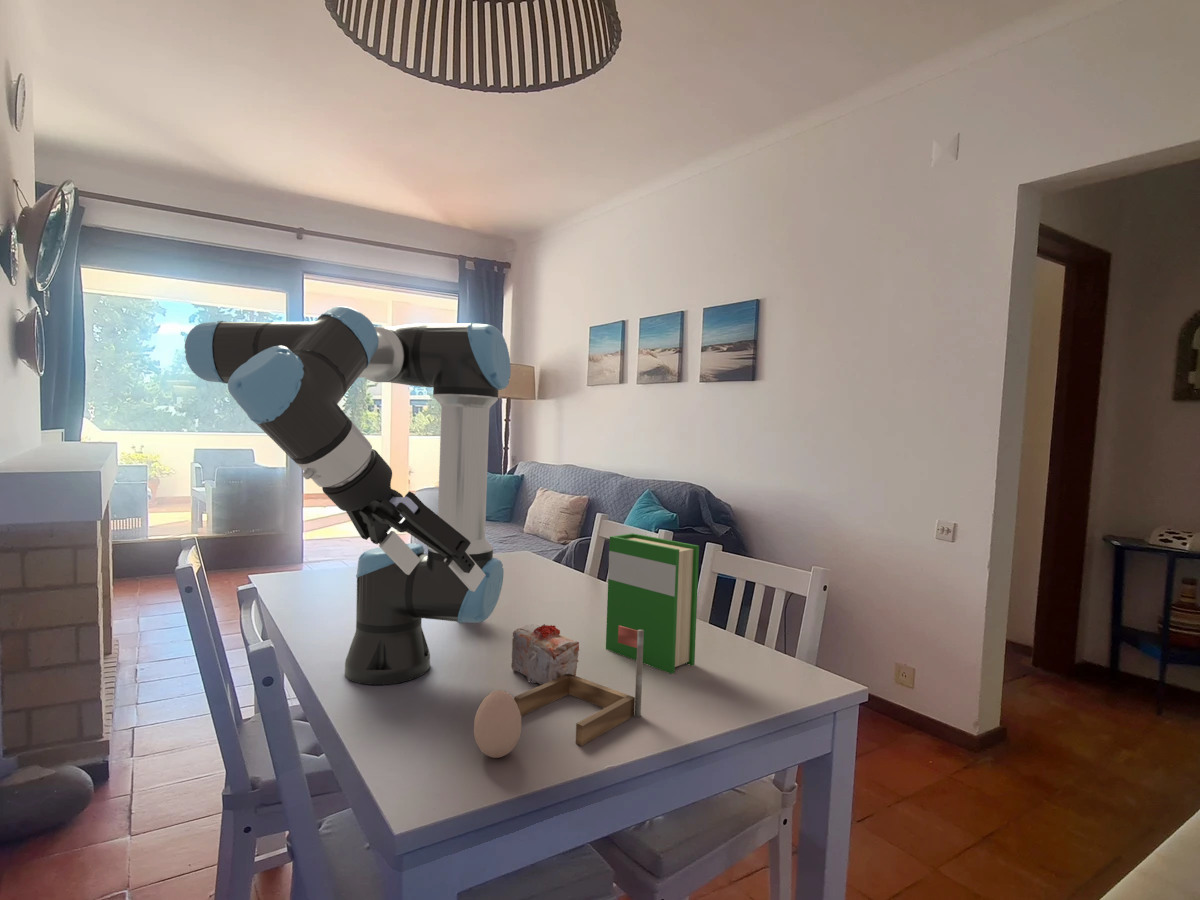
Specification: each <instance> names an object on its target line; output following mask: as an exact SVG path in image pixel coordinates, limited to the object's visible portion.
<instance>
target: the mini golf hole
mask: <svg viewBox="0 0 1200 900" xmlns="http://www.w3.org/2000/svg"><path fill="white" fill-rule="evenodd" d="M643 640H644V630H634V629H630V628H627V627H623V626H618V643H621V644H625V645H628V646H631V647H635V648H637V661H636V665H635V666H636V668H635V671H636V672H635V690H634V691H635V695H634V696H632V695H629V694H626V693H623V692H621V691H619V690H615V689H613V688H611V687H610V688H609V687H607V686H604V685H602V684H599V683H596V682H593V681H591V680H588V679H586V678H582V677H580V676H578V675H576V676H575V675H572V674H569V673H568V674H566V675H564V676H561V677H559V678H557V679H554V680H552V681H550V682H547V683H545V684H543V685H541V684H539V686H536V687H533V688H532V689H528V690H526V691H524V692H522V693H520V694H517V695H515V696H514V697H513V699H514V700H515V702H516V703H517V706H518V708H519V711H520V714H521V717H523V716H525V715H527V714H529V712H530V713H532V712H534V711H535V710H538V709H540V708H542V707H544V706H546V705H548V704H550V703H552V702H555V701H557V700H559V699H562V698H563V697H566V696H568V695H570V696H573V697H575V698H577V699H580V700H583V701H585V702H587V703H590V704H593V705H595V706H599V707H601V708H602V709H600V710H598V711H597V712H595V713H593V714H591V715H589V716H587V717H586V718H584V719H582V720H580V721H578V722H577V723H576V726H575V744H576V745H578V746H581V747H583V746H585V745H586V744H588V743H589V742H591V741H593V740H595V739H596V738H598V737H601V735H604V734H605V733H607V732H608V731H610V730H612V729H613V728H615V727H617V726H619V725H620V724H622V723H623V722H626V721H627V720H629V719H631V718H633V717H636V718H639V717H641V714H642V689H643V664H644V663H643ZM533 710H534V711H533ZM531 711H532V712H531Z"/></svg>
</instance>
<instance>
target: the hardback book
mask: <svg viewBox="0 0 1200 900" xmlns="http://www.w3.org/2000/svg"><path fill="white" fill-rule="evenodd" d="M608 543H609V549H608V574H607V577H608V578H607V599H606V600H607V602H606V603H607V605H606V606H607V607H606V609H607V610H606V630H605V631H606V635H605V650H606V651H607V650H608V651H610V652H613V653H615V654H617V653H618V655H620V654H621V655H620V656H623V655H624V656H623V657H625V656H626V658H628V657H629V659H631V658H632V659H631V660H633V659H635V660H634V661H636V660H637V648H635V647H631V646H628V645H625V644H621V643H618V626H623V627H627V628H630V629H634V630H644V640H643V664H644V663H645V664H644V665H646V664H648V665H647V666H649V665H650V666H649V667H652V666H653V668H654V667H655V668H654V669H657V668H658V669H657V670H660V669H661V670H660V671H662V670H663V671H662V672H665V671H666V672H665V673H667V672H669V673H668V674H670V673H673V674H675V673H674V672H676V671H675V669H676V667H678V666H681V665H685V663H687V664H686V665H688V664H690V665H689V666H691V665H692V666H694V665H695V664H696V663H695V660H696V658H695V657H696V656H695V655H696V638H697V635H696V633H697V614H698V613H697V609H698V585H699V583H698V582H699V560H700V559H699V558H700V545H697V544H691V543H685V542H681V541H675V540H671V539H664V538H659V537H654V536H651V535H650V536H649V535H643V534H638V533H634V532H632V533H627V534H626V533H624V534H619V535H611V536H609V542H608Z"/></svg>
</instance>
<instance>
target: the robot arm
mask: <svg viewBox="0 0 1200 900" xmlns="http://www.w3.org/2000/svg"><path fill="white" fill-rule="evenodd" d="M507 345H508V344H507V343H506V339H505V337H504V336H503V334H502V332H501V330H500V329H498V328H497V327H496V326H495V325H492V324H487V323H486V324H485V323H476V322H465V323H464V322H462V323H461V322H459V323H456V322H455V323H451V322H450V323H449V322H448V323H424V322H423V323H422V322H421V323H411V324H410V323H409V324H402V325H395V326H393V325H392V326H375V325H374V324H373V323H372V321H371V320H370V319H369V318H368V317H367V316H366V315H365V314H363V313H362V312H361V311H359V310H358V309H354V308H352V307H350V306H349V307H348V306H343V305H340V306H339V305H338V306H334V307H331V308H329V309H328V310H327V311H325V312H324V313H321V315H319V316H318V317H317V320H315V321H271V322H270V321H269V322H266V321H263V322H262V321H258V322H257V321H226V320H224V321H223V320H218V321H211V322H201V323H198V324H197V325H196V326H194V327H193V328H192V329H190V331H189V332H188V334H187V336H186V338H185V341H184V353H185V356H184V357H185V359H186V363H187V366H188V367H189V369H190V370H191V371H192V373H193V374H195V375H196V377H198V378H200V379H202V380H204V381H207V382H213V383H222V384H227V390H228V392H229V394H230V395H231V397H232V398H233V399H234V400H235V402H236V403H237V404H238V405H239V407H240V408H241V409H242V410H243V411H244V412H245V414H246V415H247V416H248V418H249V419H250V421H252V422H253V423H254V424H255V425H257V426H258V427H259V428H260V429H261V430H262V432H264V433H265V434H266V435H267V436H268V437H269V438H270V439H271V440H272V441H273V442H274V443H276V445H277V446H278V447H279V448H280V449H281V450H283V452H284V453H286V455H287V456H288V457H289V458H290V459H291V460H292V461H294V463H295V464H296V465H298V467H299V468H301V470H302V471H303V472H302V474H301V475H302V477H303V479H305V480H310V479H311V480H312V481H313V482H314V483H315V484H316V485H317V486H318V487H321V489H322V491H323V493H324V495H326V496H327V497H328V498H329V500H330V501H332V503H334V504H335V505H336V506H337V507H338V509H340V510H341V511H344V512H346V514H347V516H348V517H349V519H350V520H351V523H352V524H353V526H354V528H355V529H356V531H357V533H358V535H359V536H360V537H361V538H362V539H363V540H369V539H370V542H372V544H375V545H378V547H375V548H371V549H369V550H366V551H364V552H363V553H361V554H360V556H359V558H358V561H357V568H356V570H357V571H356V575H355V577H356V615H355V617H356V618H355V619H356V620H355V621H356V623H355V633H354V635H353V638H352V641H351V644H350V646H349V649H348V653H347V655H346V658H345V661H344V676H345V677H346V678H347V679H348V680H349V681H352V682H354V681H355V682H354V683H358V682H360V683H359V684H362V683H364V684H363V685H371V684H375V686H376V684H379V685H378V686H381V685H380V684H382V686H383V685H393V684H400V683H403V682H407V681H411V680H413V679H417V678H418V677H421V676H422V675H424V674H425V673H427V671H429V669H430V667H431V653H430V649H429V647H428V643H427V640H426V637H425V634H424V630H423V627H422V619H428V620H437V621H446V622H447V621H448V622H457V623H458V624H464V623H469V624H470V623H471V624H472V623H474V624H475V623H476V624H477V623H478V624H479V623H483V622H484V621H486V620H487V619H488V618H489V617H490V616H491V615H492V614H493V613H494V610H495V608H496V606H497V604H498V601H499V598H500V595H501V591H502V587H503V584H504V568H503V567H504V566H503V565H504V564H503V562H502V561H501V560H500V559H498V558H496V557H494V546H493V545H492V544H491V543H490V542H489V541H488V540H487V538H486V522H487V521H486V520H487V519H486V518H487V516H486V515H487V493H488V491H487V489H488V488H487V487H488V463H489V462H488V461H489V435H490V434H489V433H490V432H489V430H490V409H491V407H493V405H494V404H495V403H497V401H499V391H500V390H501V391H502V390H504V389H506V388H508V385H509V383H510V378H511V371H512V370H511V368H512V366H511V358H510V357H511V356H510V352H509V347H508V346H507ZM358 378H360V379H361V378H365V379H366V380H368V381H370V382H374V383H392V384H399V385H405V386H410V387H411V386H412V387H413V386H414V387H418V388H419V387H421V388H424V387H425V388H432V389H433V390H432V391H433V392H432V397H433V398H434V399H435V400H436V402H438V404H440V408H441V409H440V412H441V413H440V436H439V437H440V438H439V439H440V440H439V468H438V469H439V470H438V471H439V472H438V476H439V477H438V499H437V501H438V502H437V503H438V504H437V513H435V512H434V511H433V510H432V509H431V508H430V507H428V506H427V505H426V504H424V503H423V502H422V500H420V498H419V497H418V496H417V495H416V494H415V493H414V492H411V491H408V492H407V493H406V494H405V495H404V496H403V494H402V493H400V492H399V491H398V490H395V489H393V488H392V486H391V482H392V477H393V469H392V468H391V467H390V465H389V464H388V463H387V462H386V460H385V459H383V457H382V456H381V455H380V454H379V452H378V451H377V450H375V449H373V445H372V444H371V442H370V441H369V440H368V439H367V437H365V435H364V434H363V433H362V431H361V430H360V429H359V428H358V427H357V426H356V425H355V423H354V422H353V421H352V420H351V419H350V418H349V417H348V415H346V413H345V412H344V411H343V409H342V408H341V407H340V405H339V403H340V401H341V400H342V399H343V398H344V396H345V395H346V393H347V392H348V391H349V389H350V388H351V387H352V386H353V384H355V382H356V380H358ZM403 518H404V520H403V521H402V519H403ZM401 521H402V522H401ZM391 529H394V530H391ZM390 530H391V531H390ZM395 530H396V531H397V532H398V533H407V534H409V535H411V536H412V537H413V538H415V539H417V540H418V541H420V542H421V543H422V544H421V543H415V542H414V543H410V542H409V543H405V541H404V540H403V539H402V538H401V537H400V536H399V535H398V533H396V531H395ZM389 531H390V532H389ZM423 544H424V545H426V546H427V553H424V552H425V549H424V545H423Z"/></svg>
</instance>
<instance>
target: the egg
mask: <svg viewBox="0 0 1200 900" xmlns="http://www.w3.org/2000/svg"><path fill="white" fill-rule="evenodd" d="M473 723H474V724H473V735H474V740H475V742H476V744H477V746H478V748H479V750H481V752H482V753H483V754H485V755H486V756H487V757H489V758H494V759H498V758H503V757H504V756H507V755H508V754H509V753H510V752H512V751H513V750H514V748H515V747H516V746H517V744H518V742H519V740H520V737H521V734H522V733H521V732H522V716H521V714H520V711H519V708H518V706H517V703H516V702H515V700H514V697H513V696H512V695H511V694H510V693H509V692H507V691H504V690H501V689H500V690H494V691H492V692H490V693H488V695H486V696H485V697H484V698H483V700H481V702H480V704H479V707H478V709H477V710H476V714H475V716H474V722H473Z"/></svg>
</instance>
